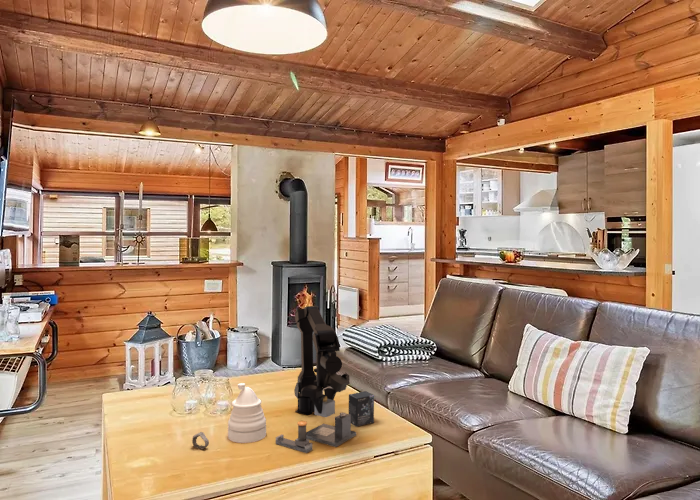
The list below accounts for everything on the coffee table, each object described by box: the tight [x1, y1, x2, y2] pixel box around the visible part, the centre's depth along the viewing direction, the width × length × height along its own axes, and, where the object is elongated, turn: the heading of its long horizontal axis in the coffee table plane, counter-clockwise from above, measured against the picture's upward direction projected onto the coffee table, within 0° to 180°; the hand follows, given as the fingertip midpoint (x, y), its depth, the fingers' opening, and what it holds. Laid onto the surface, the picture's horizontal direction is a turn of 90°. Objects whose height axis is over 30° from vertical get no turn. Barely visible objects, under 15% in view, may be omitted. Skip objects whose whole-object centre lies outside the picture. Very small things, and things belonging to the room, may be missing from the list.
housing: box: [314, 396, 336, 418], centre depth 176 cm, size 5×5×6 cm
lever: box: [294, 420, 310, 447], centre depth 165 cm, size 4×3×7 cm
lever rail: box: [275, 434, 313, 454], centre depth 167 cm, size 13×3×2 cm, turn 56°
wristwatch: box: [191, 431, 210, 450], centre depth 166 cm, size 4×6×5 cm, turn 60°
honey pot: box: [227, 382, 267, 444], centre depth 176 cm, size 13×13×18 cm
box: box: [348, 390, 375, 428], centre depth 188 cm, size 8×6×11 cm
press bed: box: [306, 411, 357, 448], centre depth 175 cm, size 14×12×9 cm
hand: (324, 411), depth 176 cm, fingers closed on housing, 5 cm apart
